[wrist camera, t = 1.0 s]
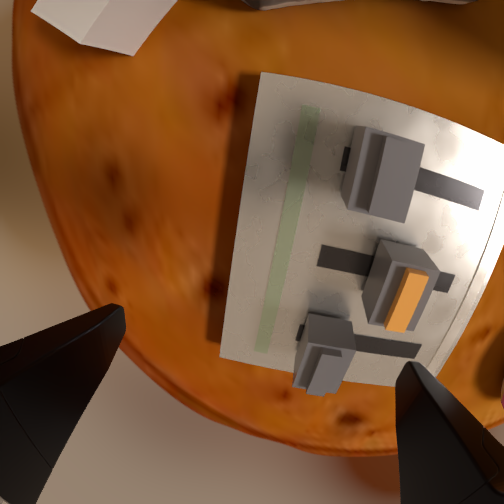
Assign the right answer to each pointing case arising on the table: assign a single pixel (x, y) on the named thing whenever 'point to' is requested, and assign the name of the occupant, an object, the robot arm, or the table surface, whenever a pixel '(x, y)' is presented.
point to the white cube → (105, 21)
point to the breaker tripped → (398, 286)
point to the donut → (502, 393)
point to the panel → (354, 229)
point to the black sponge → (279, 0)
